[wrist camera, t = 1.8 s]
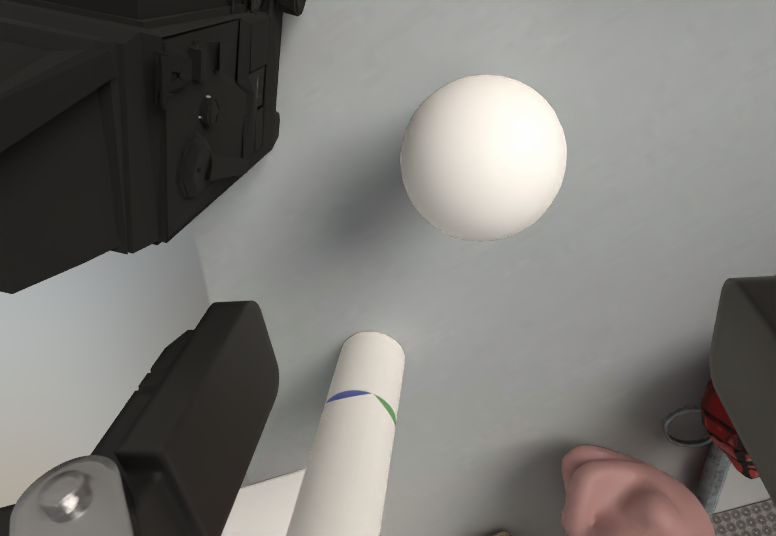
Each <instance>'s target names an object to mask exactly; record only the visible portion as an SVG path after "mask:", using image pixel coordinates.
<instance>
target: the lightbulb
mask: <svg viewBox="0 0 776 536" xmlns="http://www.w3.org/2000/svg"><path fill="white" fill-rule="evenodd" d="M566 162H567V145H566V141H565V136H564V132H563V129H562V127H561V124H560V122H559V120H558V118H557V116H556V114H555V111H554V110H553V109H552V108H551V106H550V105H549V104H548V102H547V101H546V100H545V99H544V98H543V97H542V96H541V95H540V94H538V93H537V92H536V91H535V90H534V89H532V88H531V87H529V86H527V85H525V84H523V83H521V82H519V81H517V80H514V79H510V78H506V77H503V76H497V75H476V76H468V77H465V78H462V79H459V80H456V81H453V82H450V83H449V84H447V85H445V86H443V87H442V88H440V89H438V90H437V91H435V92H434V93H433V94H432V95H431V96H429V97H428V98H427V99H426V100H425V101H424V102H423V103H422V104H421V105H420V107H419V108H418V109H417V111H416V112H415V113H414V114H413V116H412V118H411V120H410V122H409V124H408V126H407V128H406V131H405V135H404V139H403V143H402V146H401V157H400V166H401V172H402V179H403V183H404V186H405V188H406V191H407V194H408V196H409V198H410V200H411V201H412V203H413V204H414V206H415V208H416V209H417V210H418V212H419V213H420V214H421V215H422V216H423V217H424V218H425V219H426V220H427V221H428V222H429V223H430V224H432V225H433V226H434V227H436V228H437V229H438V230H440V231H442V232H444V233H446V234H448V235H450V236H452V237H456V238H460V239H463V240H469V241H480V242H481V241H494V240H498V239H502V238H506V237H510V236H512V235H514V234H516V233H519V232H521V231H523V230H524V229H526V228H527V227H529V226H530V225H532V224H533V223H535V222H536V221H537V220H538V219H539V218H540V217H541V216H542V215H543V214H544V213H545V212H546V210H547V209H548V207H549V206H550V205H551V203H552V202H553V200H554V199H555V197H556V196H557V193H558V191H559V189H560V187H561V184H562V182H563V177H564V173H565V168H566Z"/></svg>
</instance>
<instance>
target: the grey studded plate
mask: <svg viewBox="0 0 776 536" xmlns="http://www.w3.org/2000/svg"><path fill="white" fill-rule="evenodd" d="M709 518H710V520H711V523H712V525H713V528H714V531H715V535H716V536H776V507H775V505H774V503H773V501H772V500H768V501H764V502H760V503H756V504H753V505H749V506H745V507H741V508H737V509H734V510H730V511H726V512H722V513H718V514H715V515H711V516H709Z"/></svg>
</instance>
